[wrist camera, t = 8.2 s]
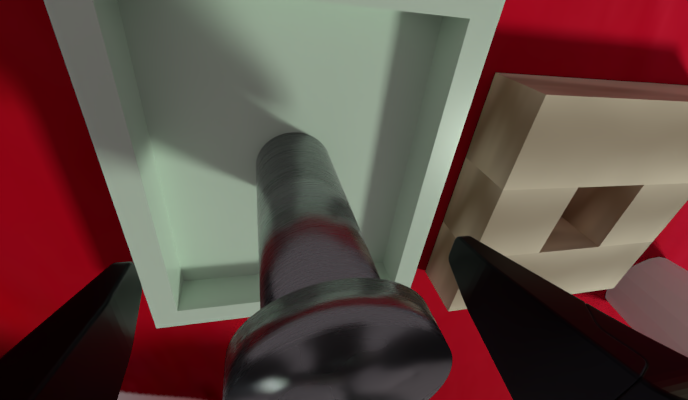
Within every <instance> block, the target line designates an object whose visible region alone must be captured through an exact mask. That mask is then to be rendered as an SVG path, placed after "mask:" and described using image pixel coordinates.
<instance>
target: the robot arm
mask: <svg viewBox="0 0 688 400" xmlns="http://www.w3.org/2000/svg"><path fill="white" fill-rule="evenodd" d="M448 260H449V264H450V267H451V269H452V272H453V275H454V277H455V280H456V282H457V285H458V288H459V290H460V293H461V295H462V298H463V300H464V303H465V305H466V307H467V309H468V311H469V314H470V316H471V318H472V319H473V321H474V323H475V325H476V327H477V329H478V331H479V333H480V335H481V337H482V339H483V341H484V343H485V345H486V347H487V349H488V351H489V353H490V355H491V357H492V359H493V361H494V363H495V365H496V367H497V369H498V371H499V373H500V375H501V377H502V379H503V381H504V383H505V385H506V387H507V389H508V391H509V393H510V394H511V396H512V398H513V400H688V357H686V356H684V355H682V354H680V353H678V352H676V351H674V350H673V349H671V348H669V347H667V346H665V345H663V344H661V343H659V342H657V341H655V340H653V339H651V338H649V337H647V336H645V335H643V334H641V333H640V332H638V331H636V330H634V329H632V328H630V327H628V326H626V325H624V324H622V323H621V322H619V321H617V320H615V319H614V318H612V317H610V316H608V315H606V314H605V313H603V312H601V311H599V310H598V309H596V308H594V307H592V306H591V305H589V304H585V302H584V301H582V300H580V299H578V298H577V297H575V296H573V295H572V294H570V293H568V292H566V291H565V290H563V289H561V288H559V287H558V286H556V285H554V284H553V283H551V282H549V281H547V280H546V279H544V278H542V277H540V276H539V275H537V274H535V273H533V272H532V271H530V270H528V269H527V268H525V267H523V266H521V265H520V264H518V263H516V262H514V261H513V260H511V259H509V258H507V257H506V256H504V255H502V254H501V253H499V252H497V251H495V250H494V249H492V248H490V247H488V246H487V245H485V244H483V243H481V242H480V241H478V240H476V239H475V238H473V237H471V236H458V237H457V238H456V239H455V240H454V243H453V245H452V248H451V250H450V253H449V257H448ZM141 293H142V286H141V282H140V279H139V276H138V273H137V270H136V267H135V265H134V264H133V263H132V262H118V263H113V264H111V265H110V266H109V267H108V268H106V269H105V270H104V271H103V272H102V273H100V274H99V275H98V276H97V277H96V278H95V279H93V280H92V281H91V282H90V283H89V284H87V285H86V286H85V287H84V288H83V289H82V290H80V291H79V292H78V293H77V294H76V295H74V296H73V297H72V298H71V299H70V300H69V301H67V302H66V303H65V304H64V305H63V306H61V307H60V308H59V309H58V310H57V311H56V312H54V313H53V314H52V315H51V316H50V317H48V318H47V319H46V320H45V321H44V322H43V323H41V324H40V325H39V326H38V327H37V328H35V329H34V330H33V331H32V332H31V333H30V334H28V335H27V336H26V337H25V338H24V339H22V340H21V341H20V342H19V343H18V344H17V345H15V346H14V347H13V348H12V349H11V350H9V351H8V352H7V353H6V354H5V355H4V356H2V357H1V358H0V400H117V398H118V395H119V392H120V388H121V385H122V382H123V378H124V375H125V372H126V368H127V365H128V362H129V358H130V354H131V350H132V345H133V340H134V334H135V328H136V323H137V317H138V311H139V305H140V299H141Z"/></svg>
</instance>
